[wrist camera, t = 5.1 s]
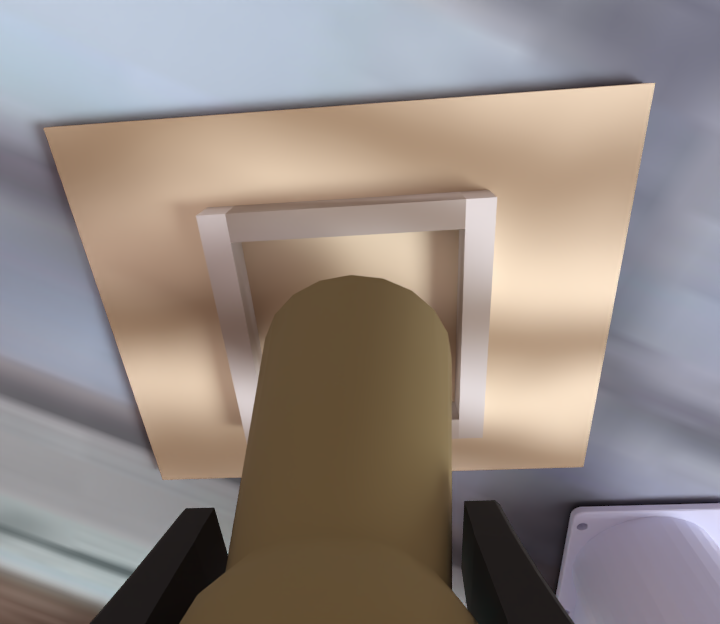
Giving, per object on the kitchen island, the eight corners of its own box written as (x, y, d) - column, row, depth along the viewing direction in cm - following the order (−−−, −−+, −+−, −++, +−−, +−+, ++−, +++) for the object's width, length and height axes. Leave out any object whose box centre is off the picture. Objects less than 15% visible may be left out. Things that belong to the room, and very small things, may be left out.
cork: (224, 346, 15) (-63, 870, 5) (371, 234, 13) (341, 750, 3) (345, 455, 17) (298, 974, 7) (487, 374, 15) (678, 939, 5)
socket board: (578, 457, 22) (594, 487, 20) (167, 470, 23) (152, 499, 21) (645, 83, 15) (677, 82, 13) (54, 126, 16) (18, 130, 15)
